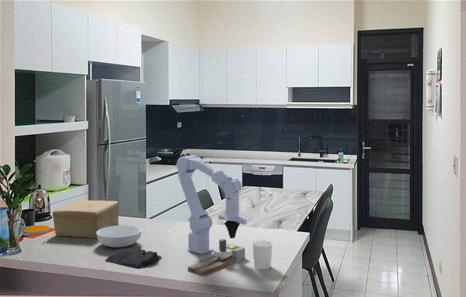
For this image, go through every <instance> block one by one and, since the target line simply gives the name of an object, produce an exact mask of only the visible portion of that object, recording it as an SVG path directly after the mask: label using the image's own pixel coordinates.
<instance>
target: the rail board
mask: <svg viewBox="0 0 466 297" xmlns="http://www.w3.org/2000/svg"><path fill="white" fill-rule="evenodd" d="M235 263H236V258H234V257H228V258H225V259H223V260H221V257H217V258H216V256H215V255H213V256H212V257H209V258H207V259H204V260H201V261H198V262H196V263H193V264H191V265H189V266H187V271H189V272H193V273H196V274H199V275H201V276H205V275H206V276H207V275H208V274H210V273H213V272H216V271H217V270H220V269H222V268H225V267H227V266H229V265H231V264H235Z"/></svg>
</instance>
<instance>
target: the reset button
mask: <svg viewBox="0 0 466 297" xmlns="http://www.w3.org/2000/svg"><path fill="white" fill-rule="evenodd" d="M234 245H235V244H232V246H229V247H228V248H229V249H232V250H234V249H237V246H238V245H236V246H234Z"/></svg>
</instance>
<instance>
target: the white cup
mask: <svg viewBox="0 0 466 297" xmlns="http://www.w3.org/2000/svg"><path fill="white" fill-rule="evenodd" d="M252 249H253V250H252V252H253V267H254V268H255V269H257V270H260V271H265V270H270V269H271V267H272V266H271V265H272V253H273V243H272V242H271V241H268V240H256V241H254V242H253V243H252Z"/></svg>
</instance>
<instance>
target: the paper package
mask: <svg viewBox="0 0 466 297" xmlns="http://www.w3.org/2000/svg"><path fill="white" fill-rule="evenodd" d="M52 218H53V225H54V226H53V227H54V232H55V233H54V234H55V236H58V237H68V236H72V237H71V238H87V237H88V238H87V239H98V238H97V234H96V232H97V231H98V230H100V229H102V228H106V227H110V226H119V225H120V224H119V201H118V200H89V199H88V200H85V199H84V200H83V199H82V200H81V199H79V200H77V201H75V202H73V203H70V204H68V205H65V206H63V207H60V208H58V209H55V210H53V211H52ZM73 236H74V237H73Z"/></svg>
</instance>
